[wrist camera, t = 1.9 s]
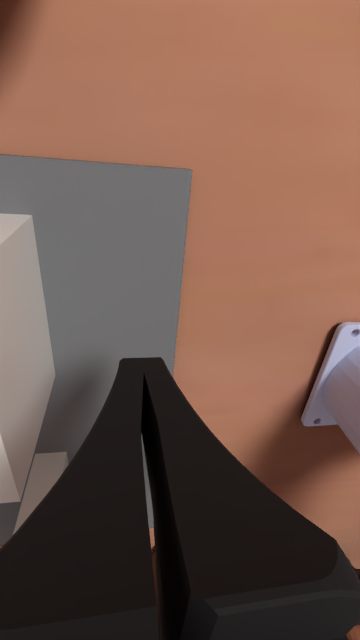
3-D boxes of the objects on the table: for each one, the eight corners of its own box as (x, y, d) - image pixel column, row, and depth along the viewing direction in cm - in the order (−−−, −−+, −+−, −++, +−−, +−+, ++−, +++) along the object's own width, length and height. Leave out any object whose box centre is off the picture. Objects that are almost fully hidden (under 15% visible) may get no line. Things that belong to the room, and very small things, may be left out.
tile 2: (66, 451, 19) (43, 580, 14) (77, 522, 23) (62, 644, 18) (32, 453, 19) (-6, 587, 13) (49, 525, 23) (25, 650, 18)
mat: (190, 169, 13) (192, 170, 12) (158, 522, 26) (158, 527, 25) (-274, 132, 10) (-289, 132, 10) (-48, 545, 23) (-50, 551, 23)
